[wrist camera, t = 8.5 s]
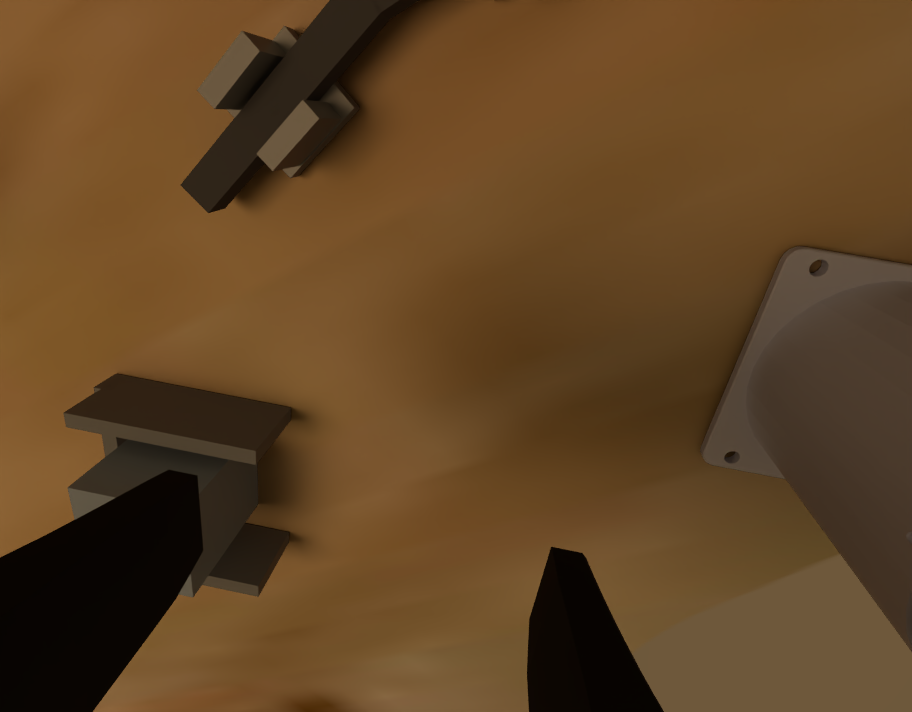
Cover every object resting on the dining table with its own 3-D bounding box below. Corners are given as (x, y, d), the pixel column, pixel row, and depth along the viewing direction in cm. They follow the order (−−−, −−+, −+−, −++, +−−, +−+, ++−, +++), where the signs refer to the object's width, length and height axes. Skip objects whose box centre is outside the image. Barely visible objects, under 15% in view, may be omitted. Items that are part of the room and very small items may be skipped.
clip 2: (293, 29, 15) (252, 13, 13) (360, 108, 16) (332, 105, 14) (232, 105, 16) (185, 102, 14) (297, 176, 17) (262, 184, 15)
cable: (671, -299, 11) (684, -337, 10) (712, -192, 12) (728, -218, 11) (176, 152, 16) (155, 154, 16) (222, 210, 17) (205, 215, 16)
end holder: (290, 407, 21) (255, 451, 18) (288, 542, 24) (258, 596, 21) (116, 373, 21) (55, 411, 18) (136, 510, 24) (86, 560, 21)
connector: (256, 428, 21) (172, 524, 16) (258, 503, 23) (183, 611, 18) (163, 410, 22) (52, 499, 17) (172, 486, 23) (74, 588, 18)
